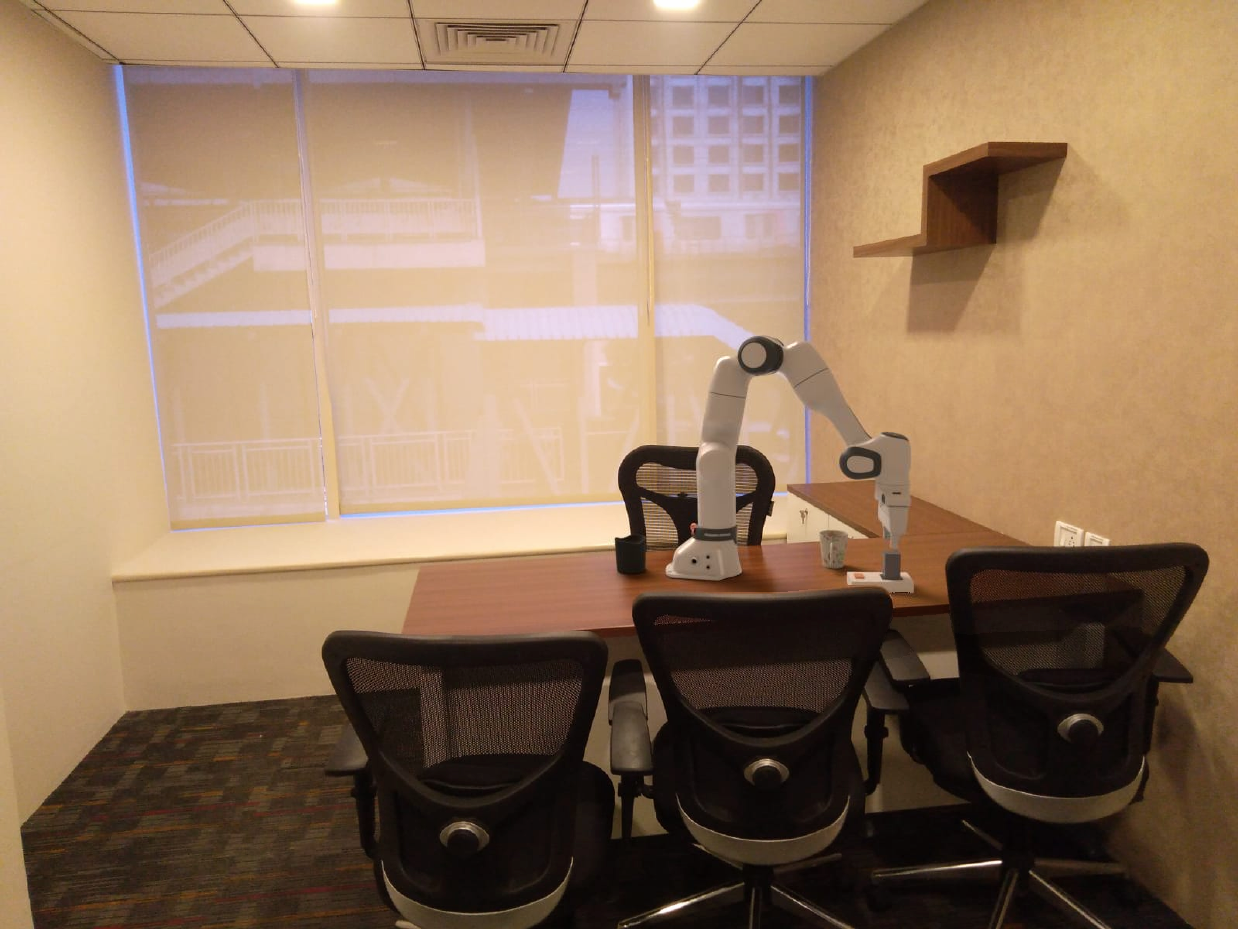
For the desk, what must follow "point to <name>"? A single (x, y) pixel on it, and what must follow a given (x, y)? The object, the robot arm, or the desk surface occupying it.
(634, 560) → the pen holder
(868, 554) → the desk surface
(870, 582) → the power strip
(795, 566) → the desk surface
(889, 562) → the plug
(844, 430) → the robot arm
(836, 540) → the mug
